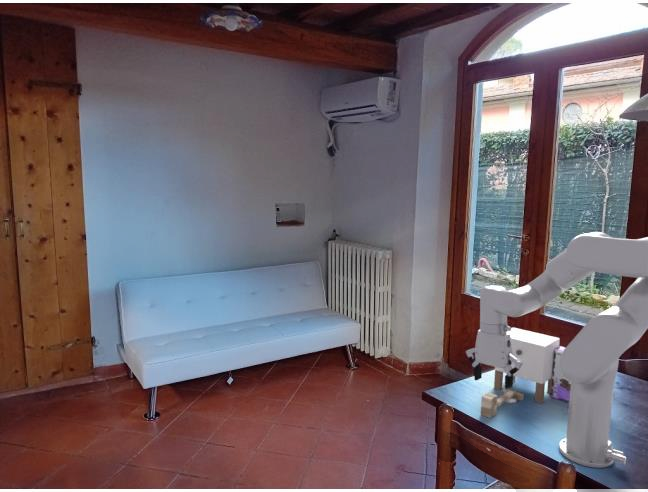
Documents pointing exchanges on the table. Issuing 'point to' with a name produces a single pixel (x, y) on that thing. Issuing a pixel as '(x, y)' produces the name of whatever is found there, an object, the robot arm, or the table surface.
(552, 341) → the cabinet
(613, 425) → the table surface
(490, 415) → the wooden mallet
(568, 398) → the candy box
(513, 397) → the token
